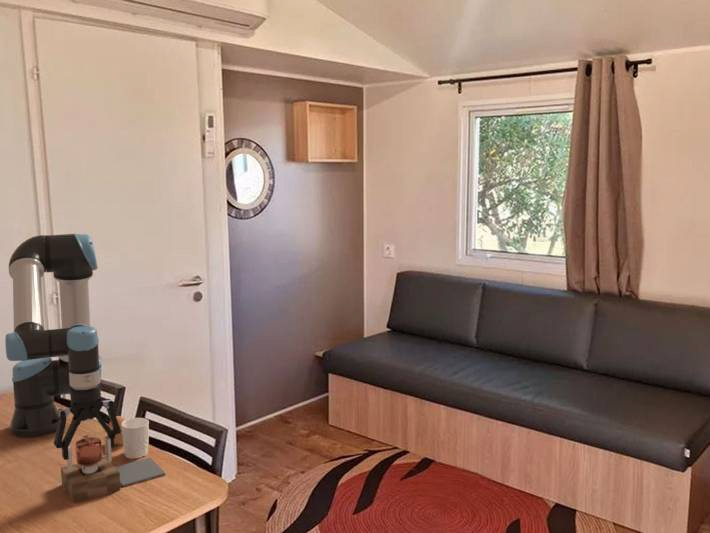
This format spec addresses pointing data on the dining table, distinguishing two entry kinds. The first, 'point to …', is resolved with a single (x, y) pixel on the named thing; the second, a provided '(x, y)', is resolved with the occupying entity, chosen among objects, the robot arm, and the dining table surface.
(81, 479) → the eye block
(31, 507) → the dining table surface
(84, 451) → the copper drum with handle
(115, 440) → the egg
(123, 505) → the dining table surface
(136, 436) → the white cup
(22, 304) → the robot arm
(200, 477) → the dining table surface
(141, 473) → the mat
